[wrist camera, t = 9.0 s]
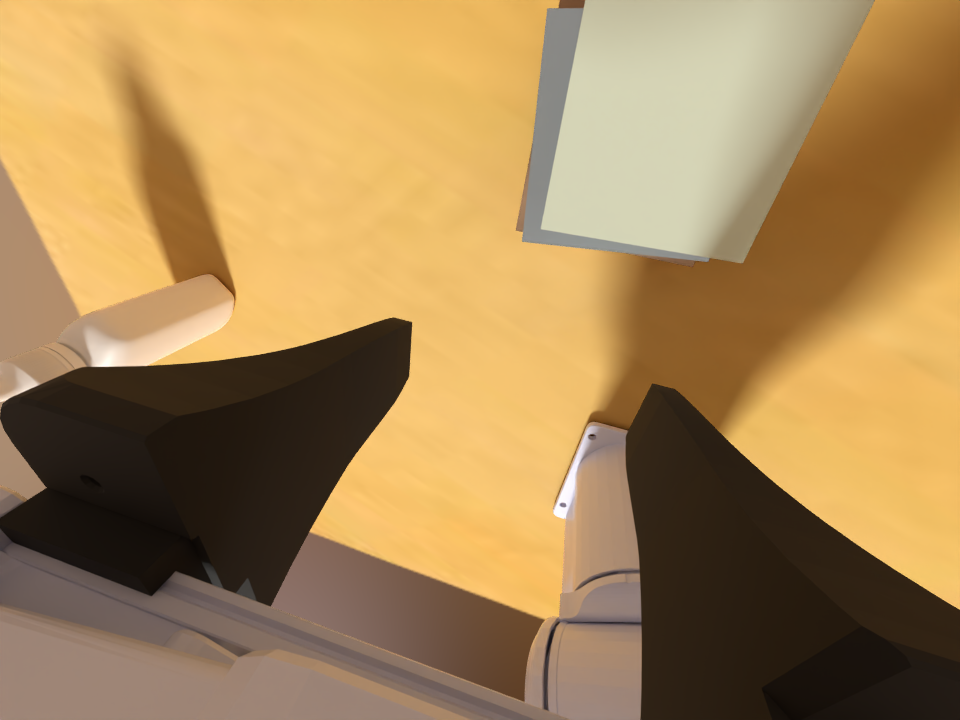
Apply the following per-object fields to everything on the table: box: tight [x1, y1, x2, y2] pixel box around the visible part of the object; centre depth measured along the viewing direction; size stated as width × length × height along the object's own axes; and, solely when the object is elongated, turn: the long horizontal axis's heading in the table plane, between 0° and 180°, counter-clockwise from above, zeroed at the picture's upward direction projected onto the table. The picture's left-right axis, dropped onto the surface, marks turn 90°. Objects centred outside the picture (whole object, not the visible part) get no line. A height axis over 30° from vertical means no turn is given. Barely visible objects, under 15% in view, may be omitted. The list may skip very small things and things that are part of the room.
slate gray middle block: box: [522, 8, 710, 262], centre depth 13 cm, size 7×7×2 cm
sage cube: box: [541, 0, 875, 264], centre depth 10 cm, size 5×5×5 cm
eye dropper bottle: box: [0, 274, 235, 402], centre depth 21 cm, size 4×6×12 cm
